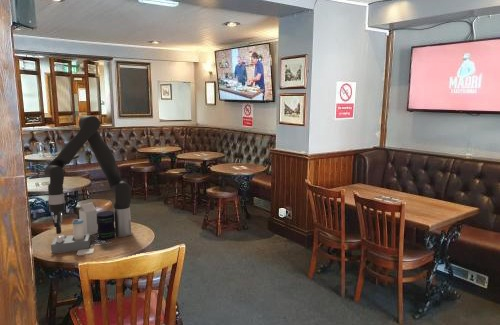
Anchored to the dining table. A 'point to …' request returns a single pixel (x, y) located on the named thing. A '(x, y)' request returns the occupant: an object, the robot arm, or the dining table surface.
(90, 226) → the milk carton
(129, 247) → the dining table surface
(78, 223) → the tumbler with domed lid
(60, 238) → the plunger
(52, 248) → the housing
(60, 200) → the robot arm
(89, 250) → the coaster
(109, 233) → the storage jar
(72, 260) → the dining table surface
